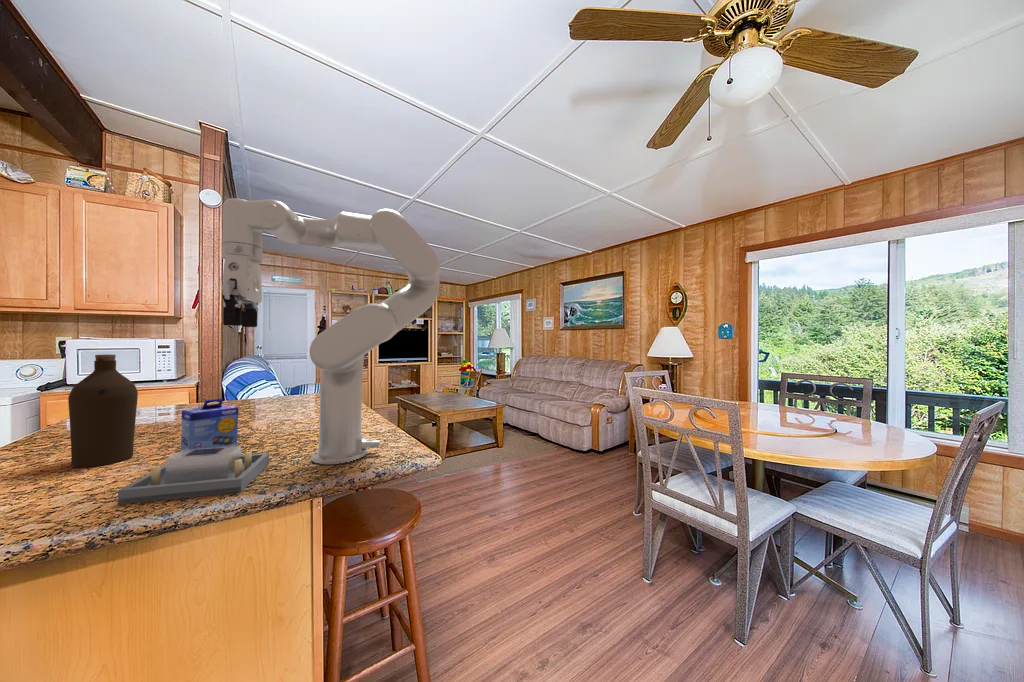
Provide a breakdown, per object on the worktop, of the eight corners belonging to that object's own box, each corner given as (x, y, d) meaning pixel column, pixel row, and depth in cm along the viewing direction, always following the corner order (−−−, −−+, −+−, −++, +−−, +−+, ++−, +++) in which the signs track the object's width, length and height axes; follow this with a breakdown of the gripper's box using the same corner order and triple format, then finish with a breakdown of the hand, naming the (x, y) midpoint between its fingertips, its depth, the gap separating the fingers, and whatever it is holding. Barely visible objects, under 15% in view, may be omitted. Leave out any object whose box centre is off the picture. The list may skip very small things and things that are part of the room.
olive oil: (147, 455, 86) (149, 354, 86) (86, 471, 75) (88, 356, 75) (118, 451, 88) (120, 353, 88) (54, 465, 78) (57, 354, 78)
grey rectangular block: (240, 468, 76) (240, 445, 76) (227, 479, 70) (228, 453, 70) (183, 473, 73) (183, 449, 73) (165, 484, 67) (165, 458, 67)
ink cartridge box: (188, 465, 80) (190, 402, 80) (178, 461, 82) (179, 400, 82) (239, 453, 88) (240, 396, 88) (228, 450, 91) (229, 395, 91)
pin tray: (269, 463, 82) (269, 444, 82) (241, 491, 67) (241, 468, 67) (172, 471, 76) (172, 451, 76) (117, 504, 61) (118, 479, 61)
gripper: (247, 246, 75) (245, 325, 75) (272, 263, 92) (271, 327, 92) (204, 242, 73) (202, 324, 73) (238, 260, 89) (237, 327, 89)
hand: (241, 326), depth 82 cm, fingers open, 9 cm apart
